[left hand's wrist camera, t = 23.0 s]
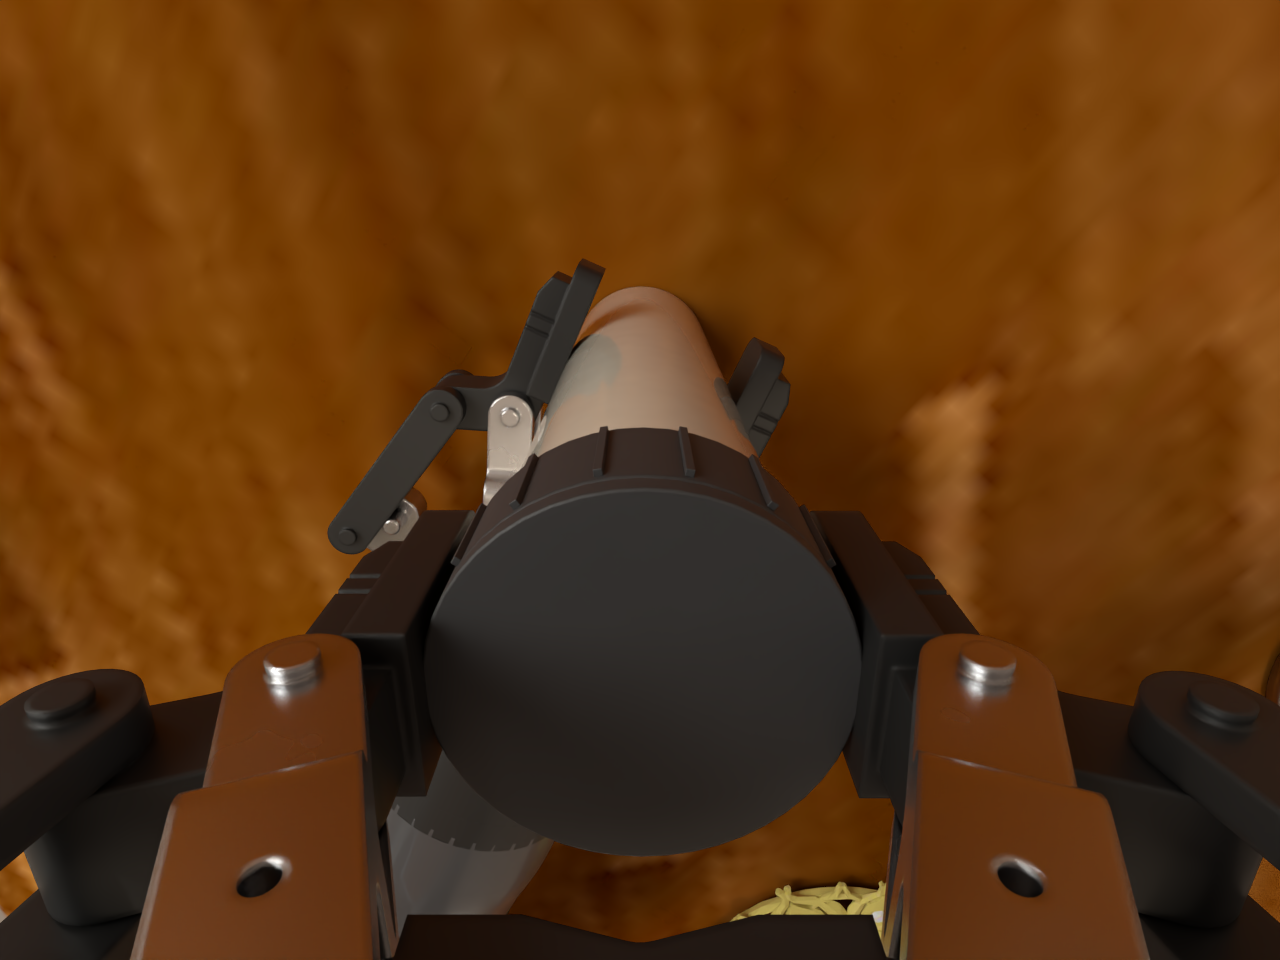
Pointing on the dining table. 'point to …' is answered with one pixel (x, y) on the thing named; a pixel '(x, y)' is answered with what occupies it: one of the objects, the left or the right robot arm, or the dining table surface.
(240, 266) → the dining table surface
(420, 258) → the dining table surface
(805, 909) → the decorative object
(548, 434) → the bottle
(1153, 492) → the dining table surface
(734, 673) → the lid
